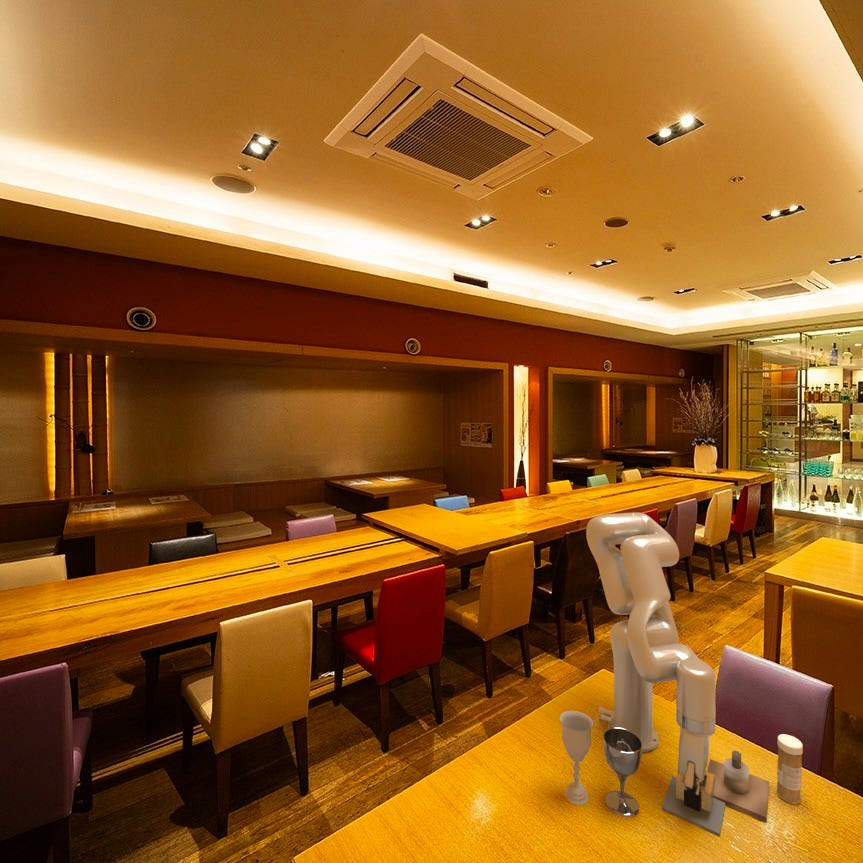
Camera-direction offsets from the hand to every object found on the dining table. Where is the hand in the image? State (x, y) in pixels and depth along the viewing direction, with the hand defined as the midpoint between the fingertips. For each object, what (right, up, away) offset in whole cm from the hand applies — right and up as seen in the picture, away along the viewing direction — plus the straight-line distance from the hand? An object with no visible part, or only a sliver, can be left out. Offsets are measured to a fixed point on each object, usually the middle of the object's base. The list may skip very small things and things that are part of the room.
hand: (695, 796), depth 105 cm
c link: (0, 0, 0) cm, 0 cm away
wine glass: (-16, -3, +1) cm, 16 cm away
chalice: (-25, -3, +4) cm, 26 cm away
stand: (+12, -2, +4) cm, 12 cm away
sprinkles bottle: (+22, -2, +2) cm, 23 cm away
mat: (0, -2, 0) cm, 2 cm away
